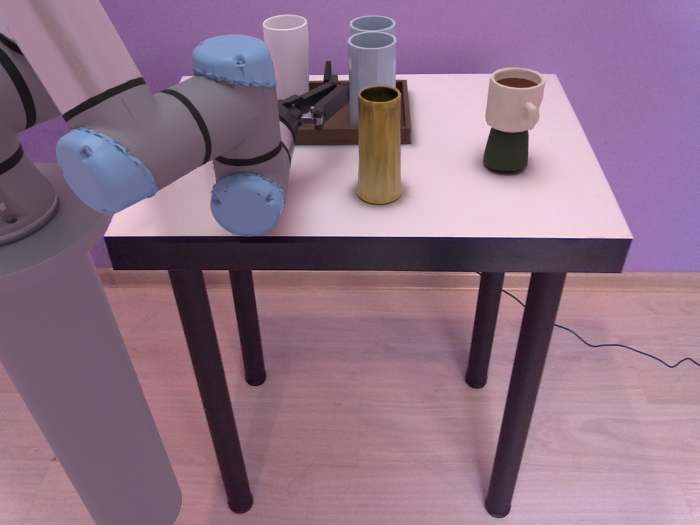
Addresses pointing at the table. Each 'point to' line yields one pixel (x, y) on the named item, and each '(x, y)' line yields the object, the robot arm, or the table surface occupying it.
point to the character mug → (512, 116)
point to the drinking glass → (288, 53)
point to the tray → (339, 123)
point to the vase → (379, 144)
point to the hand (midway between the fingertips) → (283, 70)
